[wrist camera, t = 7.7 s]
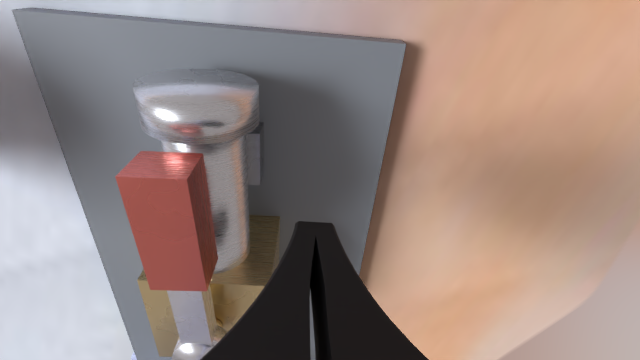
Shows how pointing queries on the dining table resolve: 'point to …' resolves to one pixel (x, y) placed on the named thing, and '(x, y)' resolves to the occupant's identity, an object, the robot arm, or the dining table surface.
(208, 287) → the valve lever
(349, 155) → the mounting board
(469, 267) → the dining table surface
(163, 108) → the valve body
